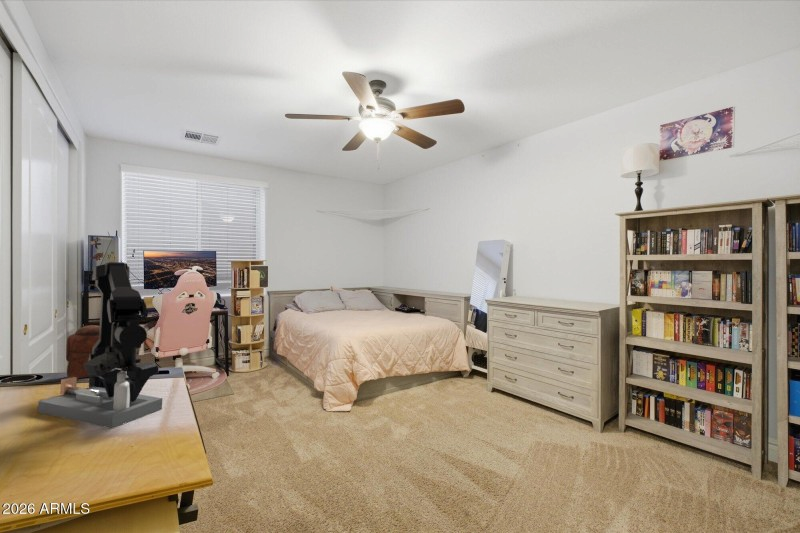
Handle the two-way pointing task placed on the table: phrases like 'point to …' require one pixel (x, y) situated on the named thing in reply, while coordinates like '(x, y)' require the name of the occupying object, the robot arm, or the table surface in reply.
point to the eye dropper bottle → (121, 392)
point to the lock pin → (70, 387)
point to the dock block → (98, 408)
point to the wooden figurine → (80, 350)
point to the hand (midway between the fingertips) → (121, 399)
